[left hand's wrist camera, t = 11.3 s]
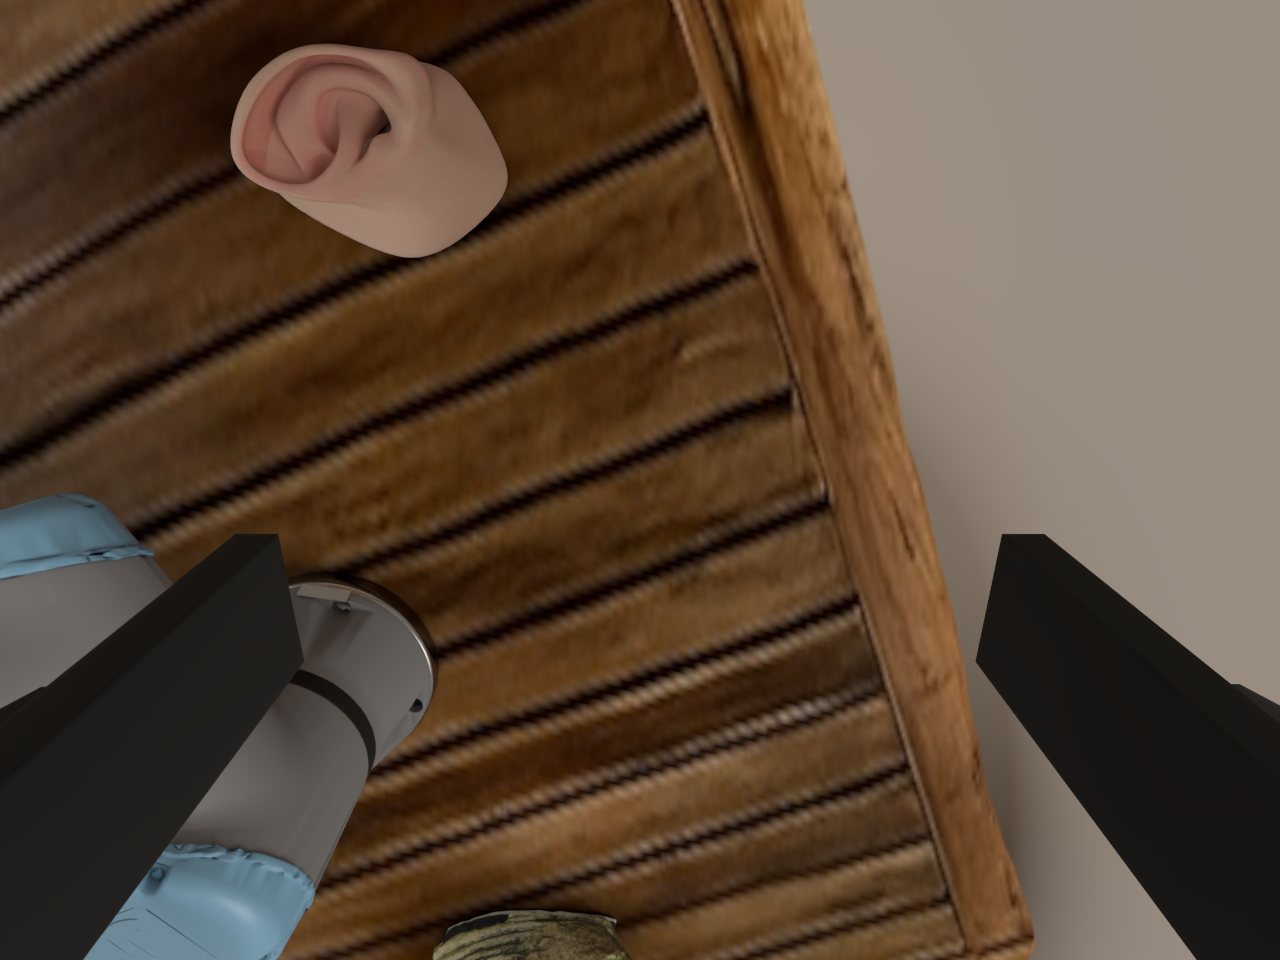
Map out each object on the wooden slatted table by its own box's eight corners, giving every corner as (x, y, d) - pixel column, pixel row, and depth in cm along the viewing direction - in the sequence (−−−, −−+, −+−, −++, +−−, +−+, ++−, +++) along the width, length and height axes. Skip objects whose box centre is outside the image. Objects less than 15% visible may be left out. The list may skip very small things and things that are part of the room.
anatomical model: (525, 136, 37) (415, 313, 40) (536, 142, 40) (434, 304, 44) (297, -46, 34) (199, 161, 37) (331, -21, 38) (239, 166, 41)
